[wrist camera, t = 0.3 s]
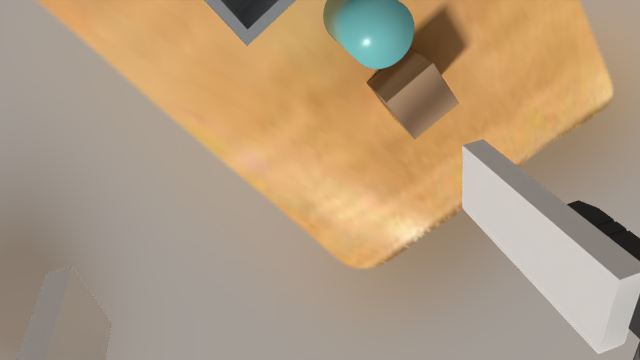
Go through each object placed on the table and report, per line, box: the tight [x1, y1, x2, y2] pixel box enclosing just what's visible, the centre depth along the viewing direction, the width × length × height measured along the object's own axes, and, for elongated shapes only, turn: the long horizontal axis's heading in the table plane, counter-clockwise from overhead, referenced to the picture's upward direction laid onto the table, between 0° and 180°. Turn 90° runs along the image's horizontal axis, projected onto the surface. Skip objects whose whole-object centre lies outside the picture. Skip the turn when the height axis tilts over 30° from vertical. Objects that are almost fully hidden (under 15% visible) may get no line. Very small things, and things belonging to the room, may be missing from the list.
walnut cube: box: [367, 48, 459, 139], centre depth 41 cm, size 5×5×5 cm
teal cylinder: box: [323, 0, 414, 69], centre depth 35 cm, size 5×5×7 cm
